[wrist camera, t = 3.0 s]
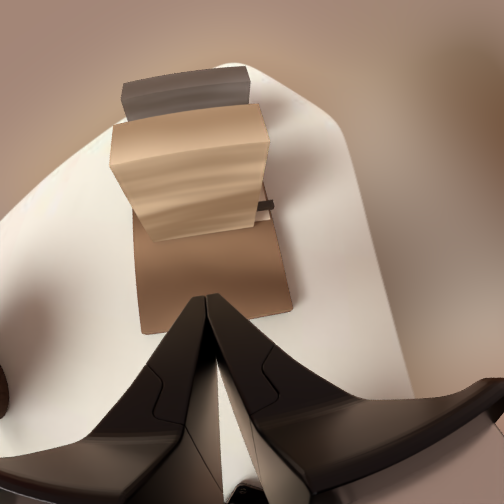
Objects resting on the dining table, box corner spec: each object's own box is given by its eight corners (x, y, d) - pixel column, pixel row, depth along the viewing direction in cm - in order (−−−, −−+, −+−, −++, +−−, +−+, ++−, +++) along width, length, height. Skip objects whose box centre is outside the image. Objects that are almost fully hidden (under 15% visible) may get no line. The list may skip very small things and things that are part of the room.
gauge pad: (275, 223, 21) (304, 139, 13) (153, 242, 20) (109, 165, 11) (268, 193, 22) (290, 102, 13) (151, 210, 21) (113, 125, 12)
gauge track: (289, 311, 20) (319, 288, 14) (146, 334, 19) (106, 322, 12) (246, 127, 26) (252, 65, 19) (136, 144, 24) (117, 85, 18)
